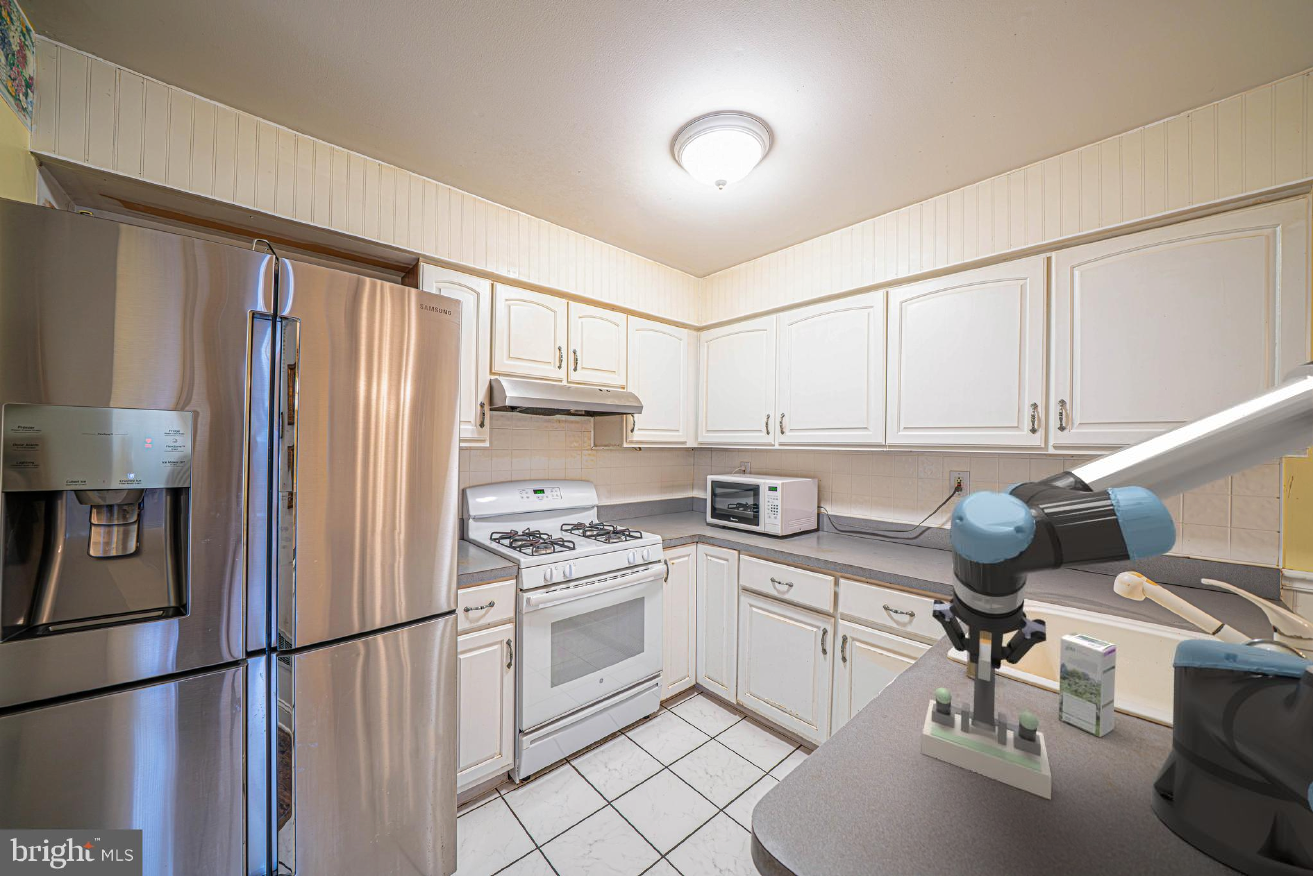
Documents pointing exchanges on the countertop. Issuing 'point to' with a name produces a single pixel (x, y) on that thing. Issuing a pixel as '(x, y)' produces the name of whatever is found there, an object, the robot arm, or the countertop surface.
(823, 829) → the countertop surface
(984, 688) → the breaker lever
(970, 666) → the sprinkles bottle
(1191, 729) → the robot arm
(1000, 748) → the lever control panel
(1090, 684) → the syrup box
